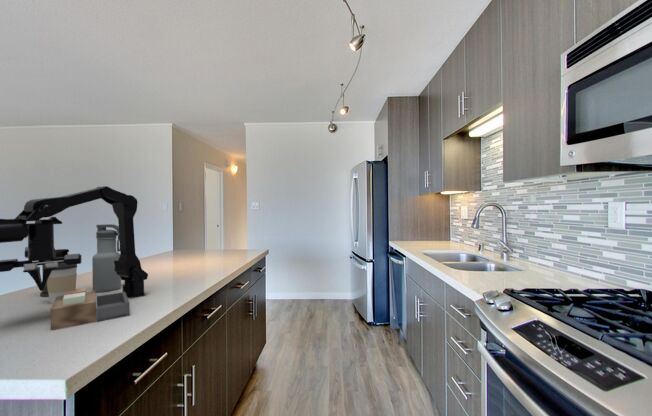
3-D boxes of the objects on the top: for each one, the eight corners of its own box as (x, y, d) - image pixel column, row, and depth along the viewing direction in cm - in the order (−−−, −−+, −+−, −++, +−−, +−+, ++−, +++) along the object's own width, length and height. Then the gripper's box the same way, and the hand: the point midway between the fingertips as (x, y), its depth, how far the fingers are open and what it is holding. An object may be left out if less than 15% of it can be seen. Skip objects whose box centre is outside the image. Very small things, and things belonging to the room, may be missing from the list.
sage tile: (85, 298, 92) (85, 292, 92) (85, 302, 88) (85, 295, 88) (64, 301, 89) (64, 295, 89) (62, 305, 85) (62, 299, 85)
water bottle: (124, 285, 132) (123, 223, 132) (119, 290, 123) (118, 224, 123) (96, 288, 127) (95, 224, 127) (89, 293, 119) (88, 225, 119)
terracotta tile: (86, 293, 98) (86, 287, 98) (85, 296, 94) (85, 290, 94) (66, 296, 95) (66, 290, 95) (65, 300, 91) (64, 293, 91)
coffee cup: (59, 297, 114) (58, 259, 114) (84, 297, 114) (83, 259, 114) (38, 305, 105) (37, 264, 105) (65, 304, 105) (64, 263, 105)
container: (35, 296, 117) (34, 251, 117) (62, 290, 125) (62, 248, 125) (48, 298, 113) (47, 252, 114) (75, 291, 122) (74, 249, 122)
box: (125, 302, 106) (125, 291, 106) (129, 315, 93) (129, 303, 93) (97, 307, 101) (96, 296, 101) (97, 322, 88) (96, 308, 88)
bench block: (95, 308, 101) (95, 290, 101) (95, 321, 88) (95, 302, 88) (56, 315, 95) (56, 296, 95) (50, 330, 82) (50, 309, 82)
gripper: (81, 235, 101) (82, 280, 101) (3, 240, 90) (4, 290, 90) (80, 237, 93) (81, 286, 93) (-7, 243, 81) (-6, 298, 81)
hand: (42, 290), depth 89 cm, fingers closed
